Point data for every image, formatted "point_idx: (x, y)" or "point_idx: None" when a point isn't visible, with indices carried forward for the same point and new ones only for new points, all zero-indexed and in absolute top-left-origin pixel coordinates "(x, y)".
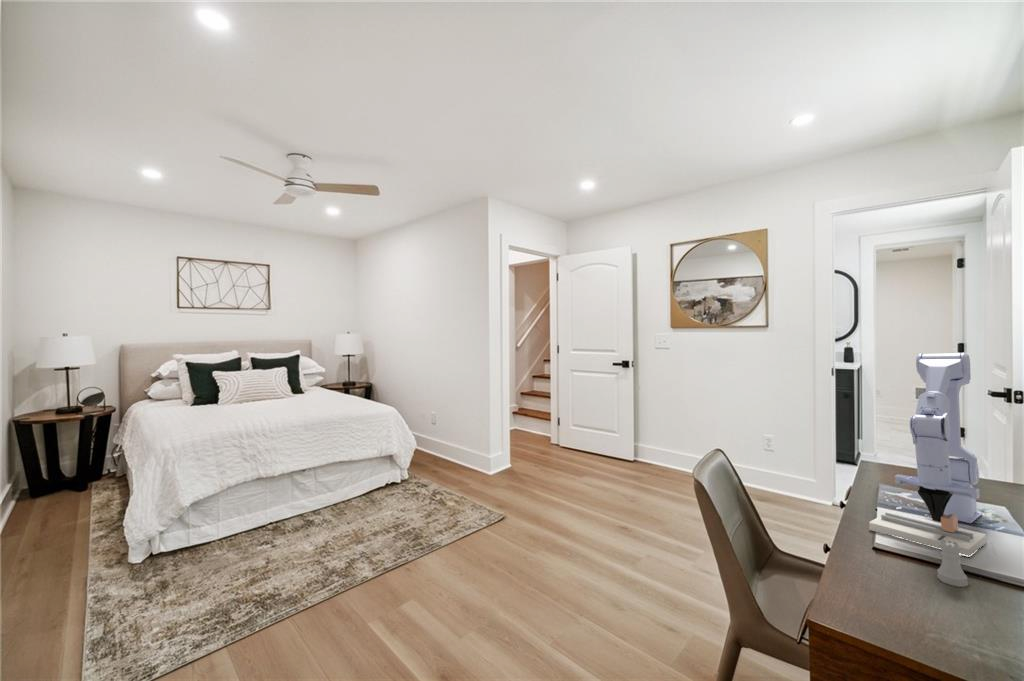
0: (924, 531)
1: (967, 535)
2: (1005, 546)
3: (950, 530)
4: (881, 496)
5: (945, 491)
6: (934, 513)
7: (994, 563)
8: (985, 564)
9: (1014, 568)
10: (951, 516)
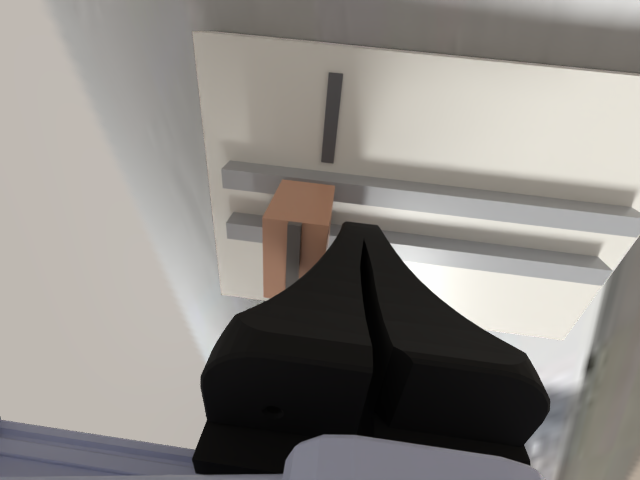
0: (414, 163)
1: (247, 220)
2: (190, 276)
3: (293, 184)
4: (549, 463)
5: (228, 467)
6: (365, 243)
7: (135, 59)
8: (147, 5)
9: (74, 61)
10: (283, 274)
